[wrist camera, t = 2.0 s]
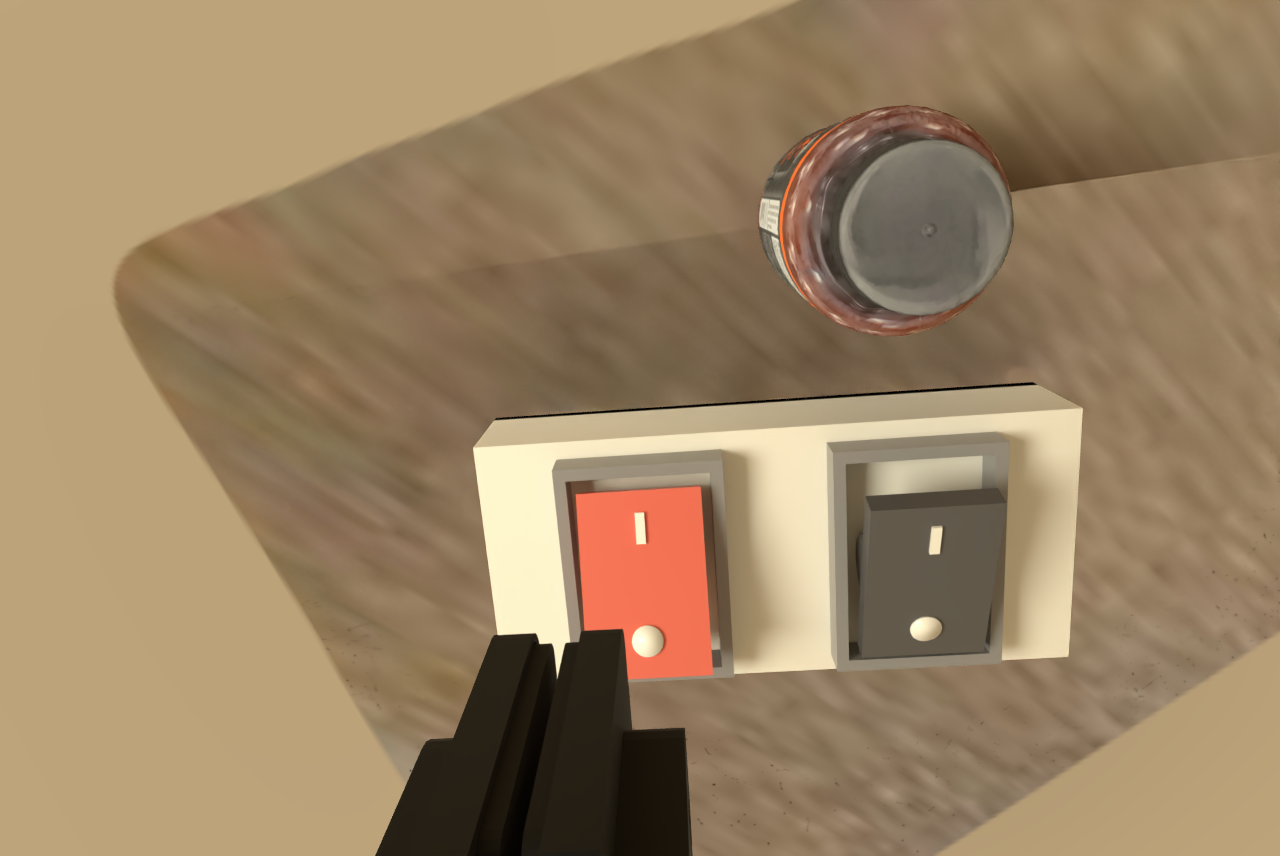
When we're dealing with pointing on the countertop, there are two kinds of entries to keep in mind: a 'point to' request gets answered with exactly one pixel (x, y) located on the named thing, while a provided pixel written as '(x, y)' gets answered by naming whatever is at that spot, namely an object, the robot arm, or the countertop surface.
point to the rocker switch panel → (791, 512)
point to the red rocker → (647, 576)
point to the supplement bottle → (888, 219)
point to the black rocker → (927, 571)
